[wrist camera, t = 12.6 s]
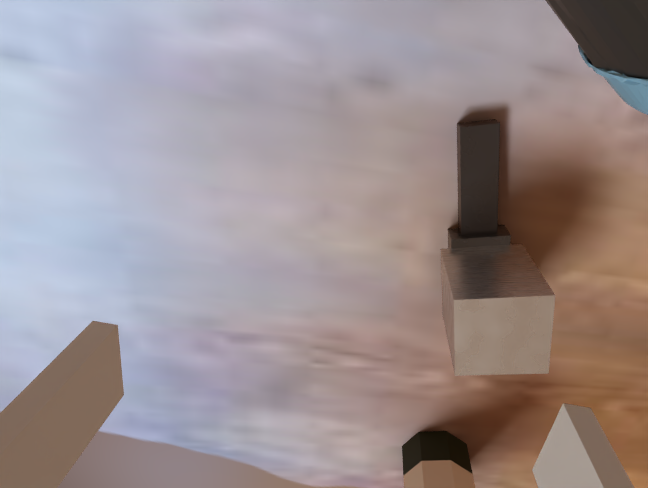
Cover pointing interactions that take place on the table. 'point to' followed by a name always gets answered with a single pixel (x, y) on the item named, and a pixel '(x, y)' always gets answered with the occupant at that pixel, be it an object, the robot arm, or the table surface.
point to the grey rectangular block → (496, 311)
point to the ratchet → (478, 187)
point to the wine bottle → (436, 462)
